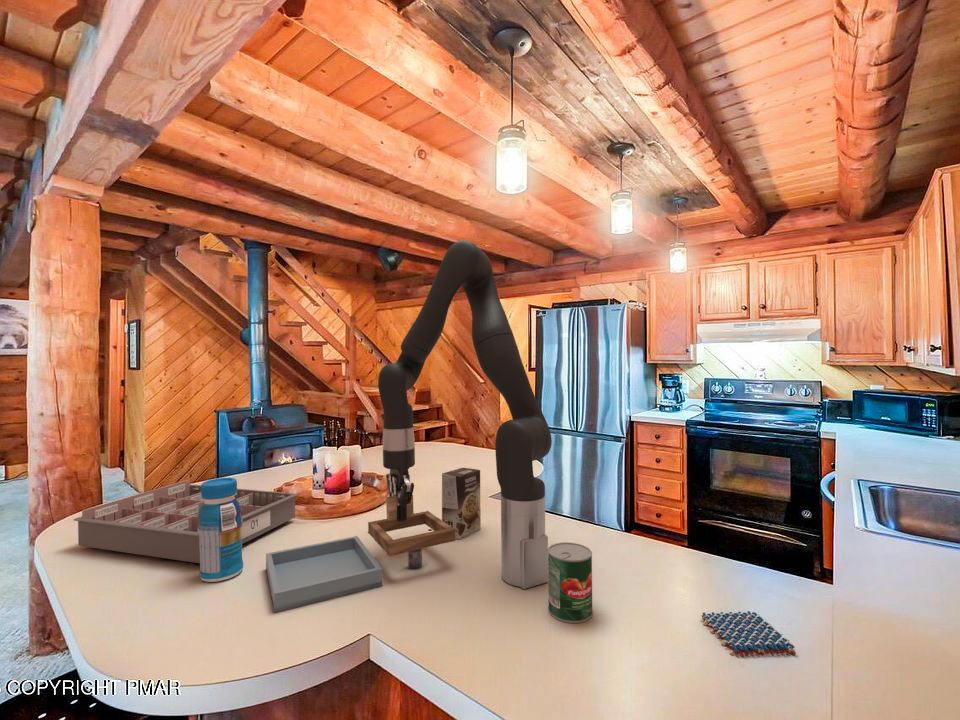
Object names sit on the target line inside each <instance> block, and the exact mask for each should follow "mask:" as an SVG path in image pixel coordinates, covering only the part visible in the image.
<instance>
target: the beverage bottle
mask: <svg viewBox="0 0 960 720" xmlns="http://www.w3.org/2000/svg"><path fill="white" fill-rule="evenodd" d="M237 489H238V482H237V478H234V477H220V478H213V479H209V480H205V481H204V482H203V481H202V483H201V497H202V500H205V502H204V503H203V505H202V506H201V508H200V510H199V513H198V519H199V520H200V523H199V525H198V534H199V546H200V563H199V577H200V579H201V580H202V581H203V582H209V583H216V582H221V581H222V582H223V581H225V580H229V579H232V578H233V577H236V576H237V575H239V574H241V572H242V571H243V568H244V561H243V559H244V558H243V544H242V525H243V521H242V518H241V516H240V513H241V511H242V509H241V506H240V504H239V502H238V501H237V499H236V498H235V497H234V496H235V495H236V494H237Z"/></svg>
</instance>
